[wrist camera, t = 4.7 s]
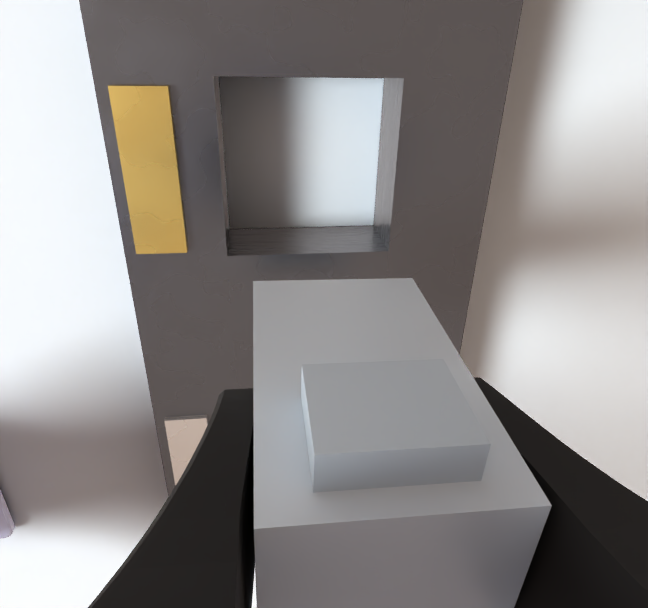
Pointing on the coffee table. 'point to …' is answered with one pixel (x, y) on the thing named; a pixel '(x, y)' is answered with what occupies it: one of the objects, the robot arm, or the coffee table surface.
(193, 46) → the panel
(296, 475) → the plug
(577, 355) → the coffee table surface
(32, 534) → the coffee table surface
